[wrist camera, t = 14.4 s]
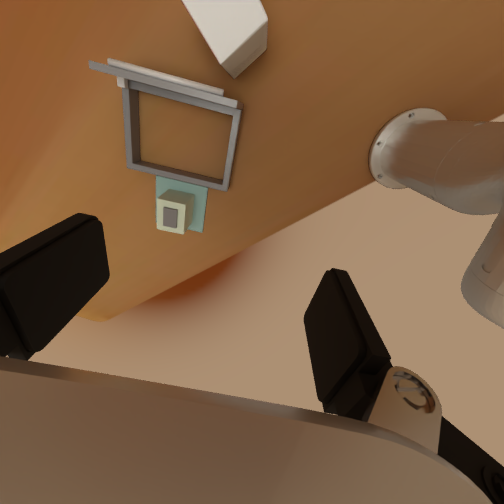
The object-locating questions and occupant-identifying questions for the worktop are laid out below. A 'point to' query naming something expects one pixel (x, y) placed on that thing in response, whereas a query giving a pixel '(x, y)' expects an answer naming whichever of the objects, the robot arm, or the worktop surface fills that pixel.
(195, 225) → the mat
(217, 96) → the grey open box
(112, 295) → the worktop surface
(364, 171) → the worktop surface
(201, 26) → the small box
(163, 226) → the block
